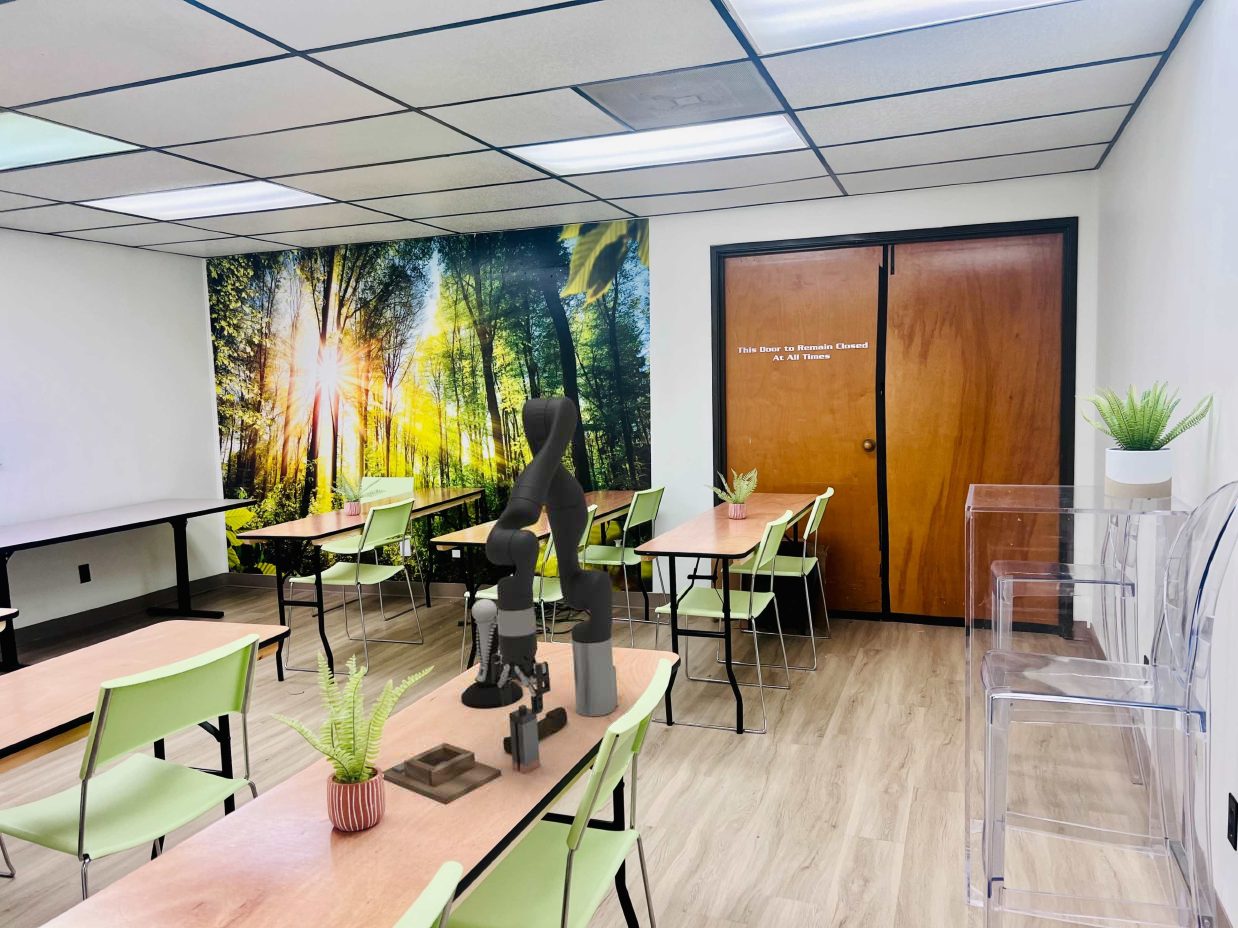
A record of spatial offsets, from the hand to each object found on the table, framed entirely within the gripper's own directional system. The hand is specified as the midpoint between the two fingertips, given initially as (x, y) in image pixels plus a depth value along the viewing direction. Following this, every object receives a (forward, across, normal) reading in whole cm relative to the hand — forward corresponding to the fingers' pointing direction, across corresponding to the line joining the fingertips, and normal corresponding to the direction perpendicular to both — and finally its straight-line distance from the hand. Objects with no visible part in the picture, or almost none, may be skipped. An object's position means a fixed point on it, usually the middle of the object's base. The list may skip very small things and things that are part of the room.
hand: (521, 708), depth 170 cm
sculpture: (+12, +36, -28) cm, 47 cm away
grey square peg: (+12, 0, 0) cm, 12 cm away
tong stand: (+12, +12, +12) cm, 21 cm away
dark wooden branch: (+13, +9, -12) cm, 20 cm away
